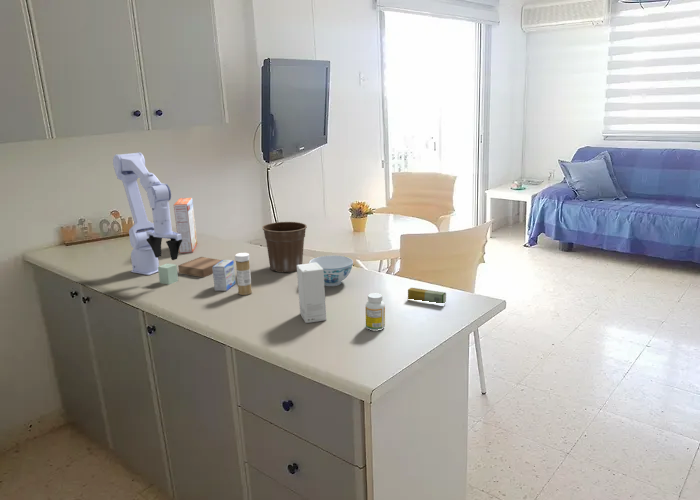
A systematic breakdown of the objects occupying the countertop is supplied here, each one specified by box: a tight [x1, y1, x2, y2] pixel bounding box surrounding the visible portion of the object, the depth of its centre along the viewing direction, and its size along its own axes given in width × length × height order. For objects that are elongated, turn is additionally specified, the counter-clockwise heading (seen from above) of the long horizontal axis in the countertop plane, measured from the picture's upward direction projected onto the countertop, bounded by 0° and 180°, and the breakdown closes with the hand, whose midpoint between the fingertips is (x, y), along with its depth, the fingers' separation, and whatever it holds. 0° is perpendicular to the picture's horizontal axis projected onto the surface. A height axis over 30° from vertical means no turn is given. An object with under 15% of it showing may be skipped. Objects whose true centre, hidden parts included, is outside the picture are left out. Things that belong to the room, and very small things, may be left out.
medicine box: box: [212, 259, 236, 292], centre depth 192 cm, size 8×4×9 cm, turn 168°
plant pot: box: [262, 221, 307, 273], centre depth 211 cm, size 16×16×16 cm
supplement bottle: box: [365, 292, 386, 330], centre depth 157 cm, size 5×5×10 cm
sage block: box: [158, 263, 179, 285], centre depth 199 cm, size 4×4×6 cm
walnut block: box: [177, 256, 223, 278], centre depth 211 cm, size 12×12×3 cm
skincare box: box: [296, 262, 327, 324], centre depth 164 cm, size 8×7×16 cm
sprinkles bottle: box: [234, 252, 253, 296], centre depth 185 cm, size 5×5×14 cm
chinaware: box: [308, 254, 354, 287], centre depth 194 cm, size 15×15×8 cm
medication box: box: [407, 287, 447, 303], centre depth 175 cm, size 12×3×4 cm, turn 61°
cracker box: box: [173, 197, 198, 254], centre depth 239 cm, size 14×6×21 cm, turn 6°
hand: (166, 258), depth 198 cm, fingers open, 7 cm apart
